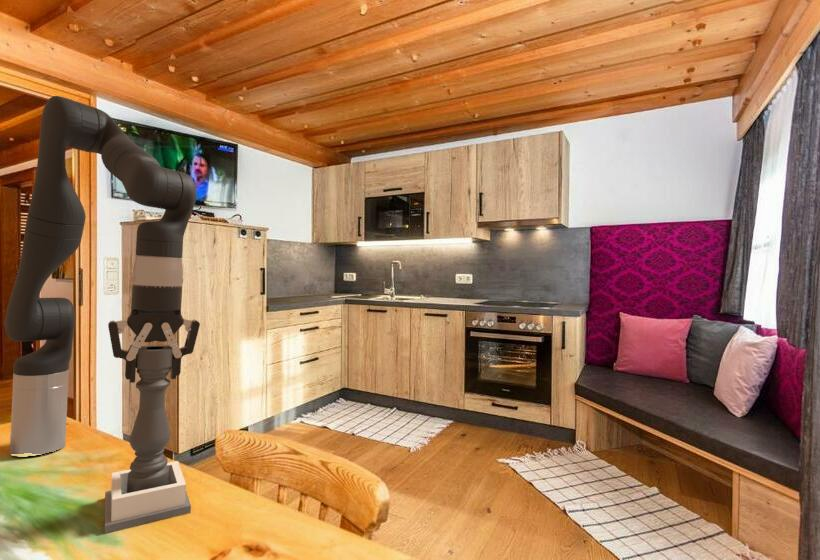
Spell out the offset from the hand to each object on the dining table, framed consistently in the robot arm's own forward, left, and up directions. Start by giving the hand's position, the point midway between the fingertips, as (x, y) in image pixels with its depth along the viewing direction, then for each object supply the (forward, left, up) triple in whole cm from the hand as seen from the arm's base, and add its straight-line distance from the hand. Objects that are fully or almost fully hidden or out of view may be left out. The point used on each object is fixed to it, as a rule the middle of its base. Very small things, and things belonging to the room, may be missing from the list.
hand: (152, 379), depth 75 cm
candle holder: (0, 0, -20) cm, 20 cm away
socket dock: (0, 0, -22) cm, 22 cm away
